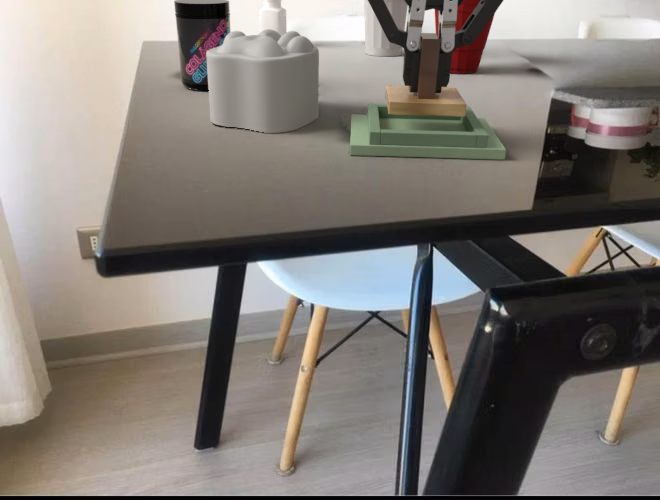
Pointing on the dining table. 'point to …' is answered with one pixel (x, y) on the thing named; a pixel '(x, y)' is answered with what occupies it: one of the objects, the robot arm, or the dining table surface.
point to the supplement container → (199, 36)
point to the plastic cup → (465, 56)
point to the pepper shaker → (272, 17)
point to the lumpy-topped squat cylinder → (263, 81)
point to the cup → (374, 33)
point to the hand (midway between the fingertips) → (424, 90)
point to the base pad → (423, 136)
